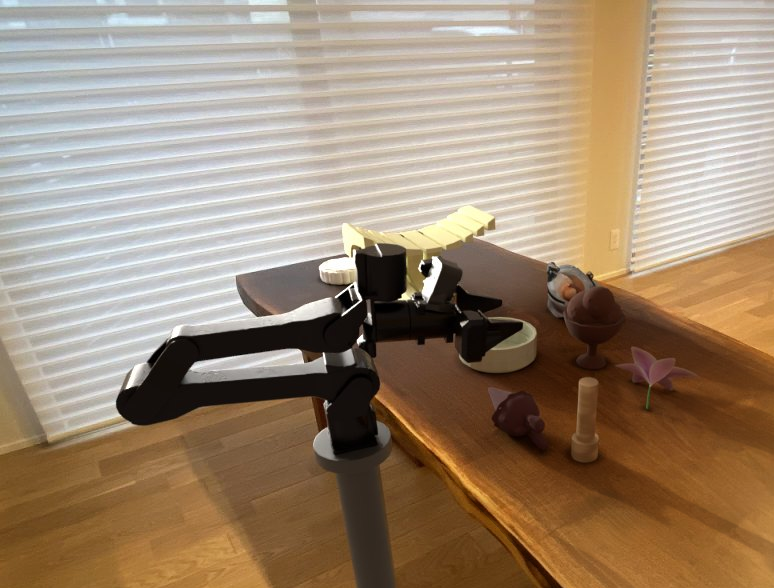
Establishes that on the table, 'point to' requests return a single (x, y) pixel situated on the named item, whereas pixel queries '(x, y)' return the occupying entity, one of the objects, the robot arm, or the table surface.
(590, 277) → the grey pot with food
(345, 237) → the slatted curved stool
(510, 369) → the bowl
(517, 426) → the icecream
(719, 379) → the table surface
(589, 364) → the ice cream bowl
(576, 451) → the cylinder
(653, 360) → the lily
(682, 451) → the table surface
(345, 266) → the mooncake
